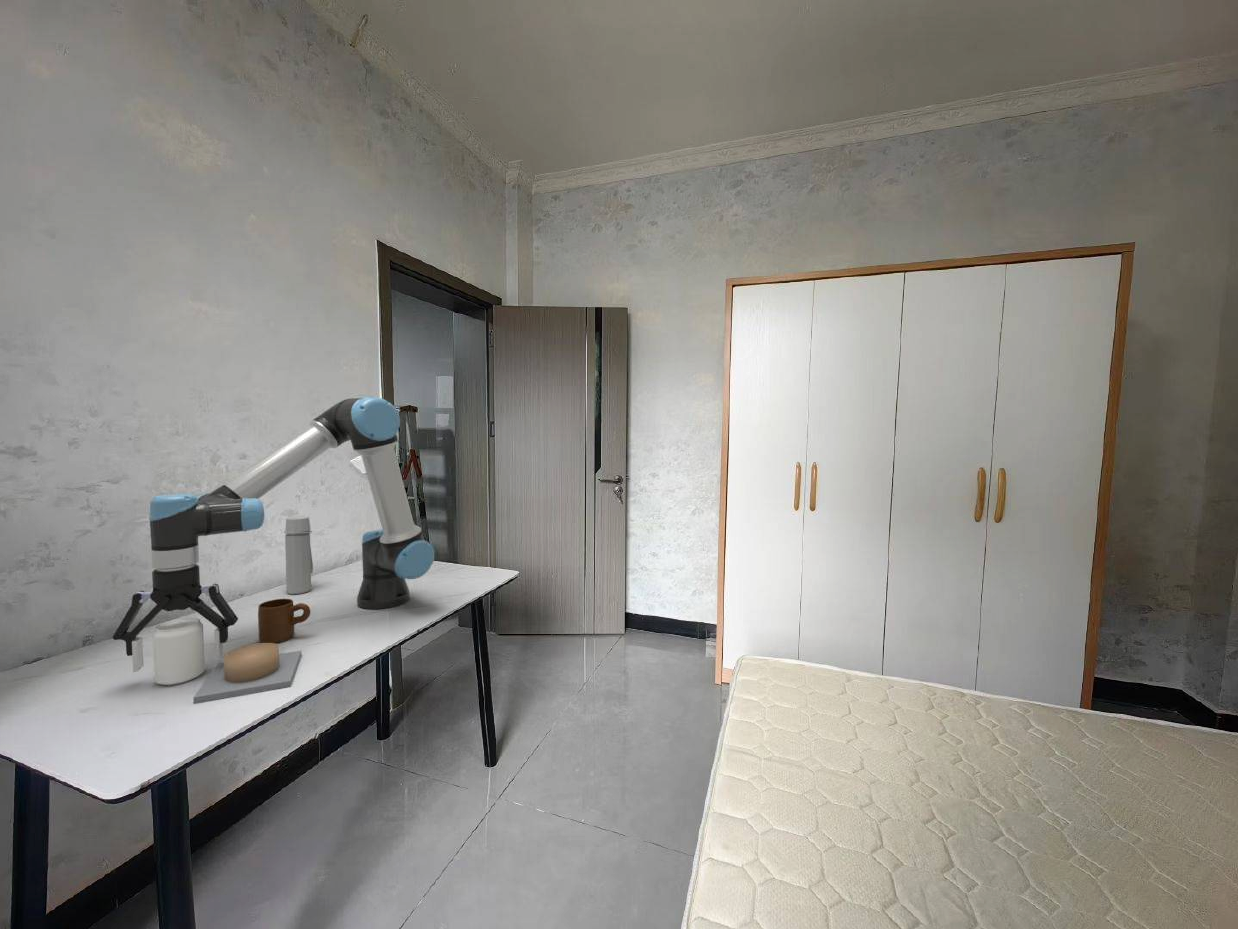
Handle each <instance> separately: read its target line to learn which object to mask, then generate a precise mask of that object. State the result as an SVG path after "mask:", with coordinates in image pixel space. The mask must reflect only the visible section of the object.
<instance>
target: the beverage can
mask: <svg viewBox="0 0 1238 929" xmlns="http://www.w3.org/2000/svg"><path fill="white" fill-rule="evenodd" d="M204 635H205V634H204V624H203V623H202V622H201V619H200V618H198V617H184V618H176V619H172V620H168V621H166V622H162V623H160V624H158V625H157V626H156V627H155V630H154V632H153V634H152V640H153V641H152V646H153V670H154V682H155V683H156V684H158V685H166V686H167V685H168V686H172V685H179V684H183V683H186V682H189V681H191V680H193V679H195V678H198V677H199V676H200V675H202V674H203V673H204V672H205V670H206V666H205V665H206V663H205V662H206V661H205V636H204Z"/></svg>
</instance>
